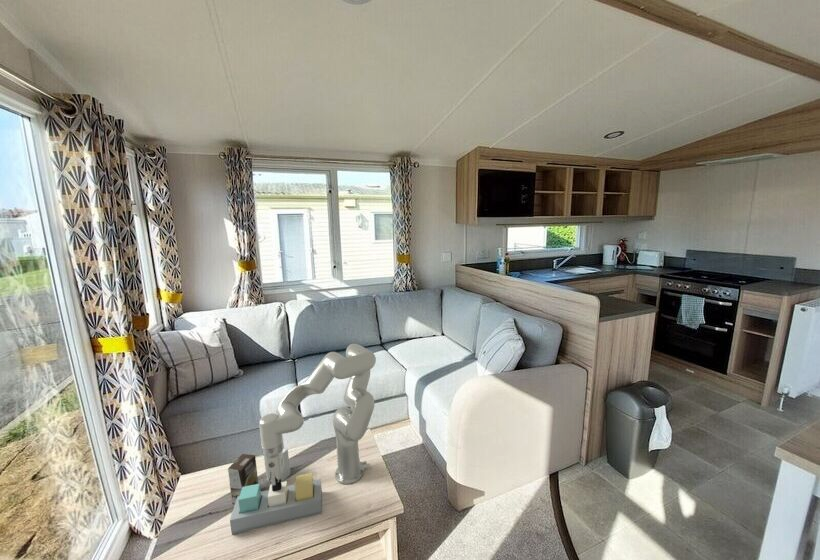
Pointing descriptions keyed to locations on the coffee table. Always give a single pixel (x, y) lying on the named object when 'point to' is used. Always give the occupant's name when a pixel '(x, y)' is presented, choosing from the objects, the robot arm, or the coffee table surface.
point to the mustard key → (304, 487)
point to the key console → (277, 510)
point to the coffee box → (242, 474)
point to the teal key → (250, 498)
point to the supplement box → (286, 465)
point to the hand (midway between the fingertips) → (277, 488)
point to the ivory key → (278, 495)
